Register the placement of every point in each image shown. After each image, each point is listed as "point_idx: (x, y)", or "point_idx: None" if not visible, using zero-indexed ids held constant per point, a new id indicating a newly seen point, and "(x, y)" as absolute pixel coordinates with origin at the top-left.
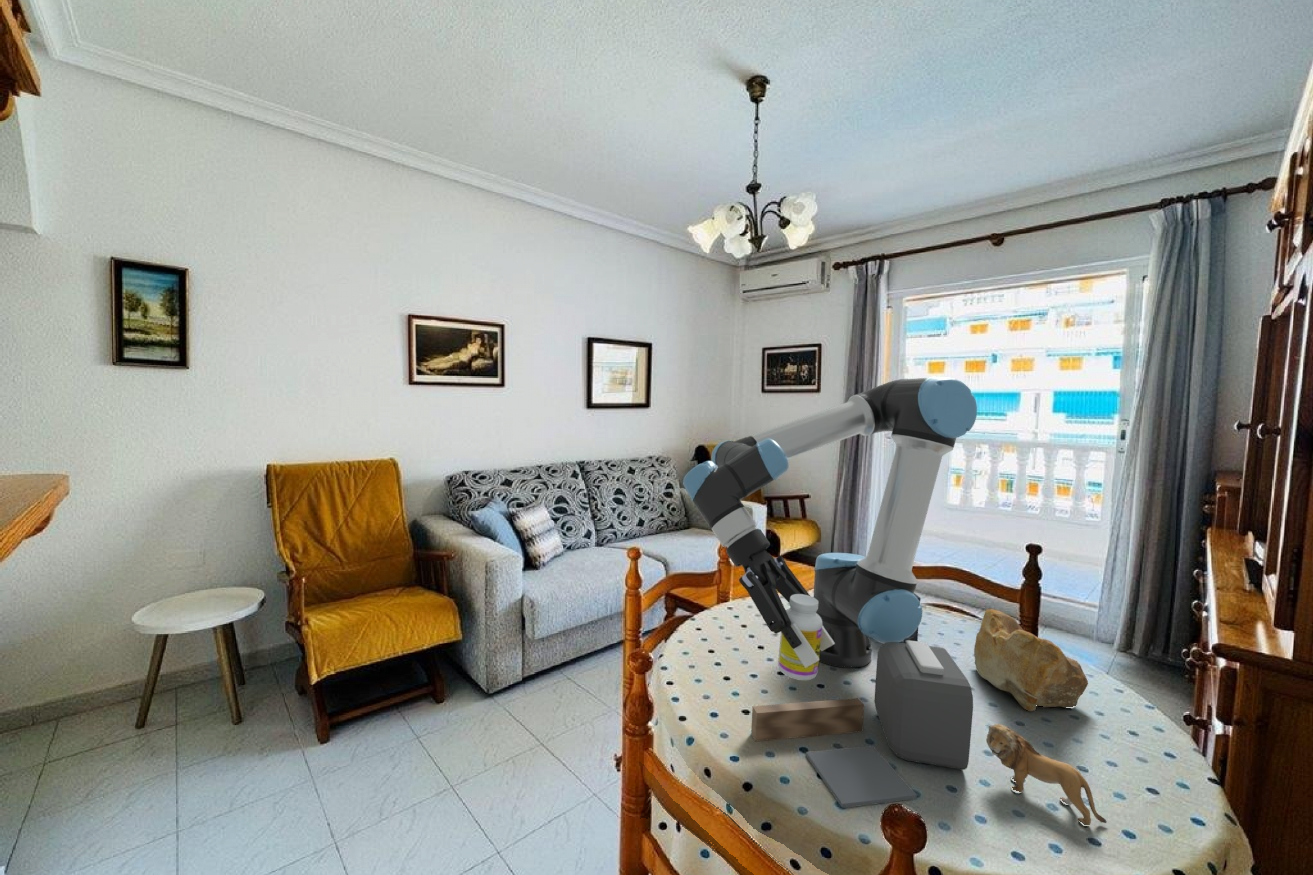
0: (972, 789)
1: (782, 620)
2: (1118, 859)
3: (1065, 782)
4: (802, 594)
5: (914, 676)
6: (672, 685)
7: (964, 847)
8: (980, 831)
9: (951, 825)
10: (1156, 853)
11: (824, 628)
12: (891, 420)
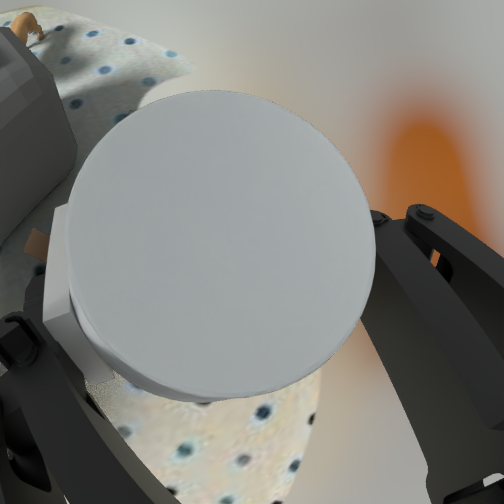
0: (59, 93)
1: (426, 212)
2: (69, 17)
3: (32, 22)
4: (134, 348)
5: (18, 66)
6: (277, 498)
7: (161, 63)
8: (124, 63)
9: (141, 78)
10: (42, 13)
11: (52, 240)
12: None
